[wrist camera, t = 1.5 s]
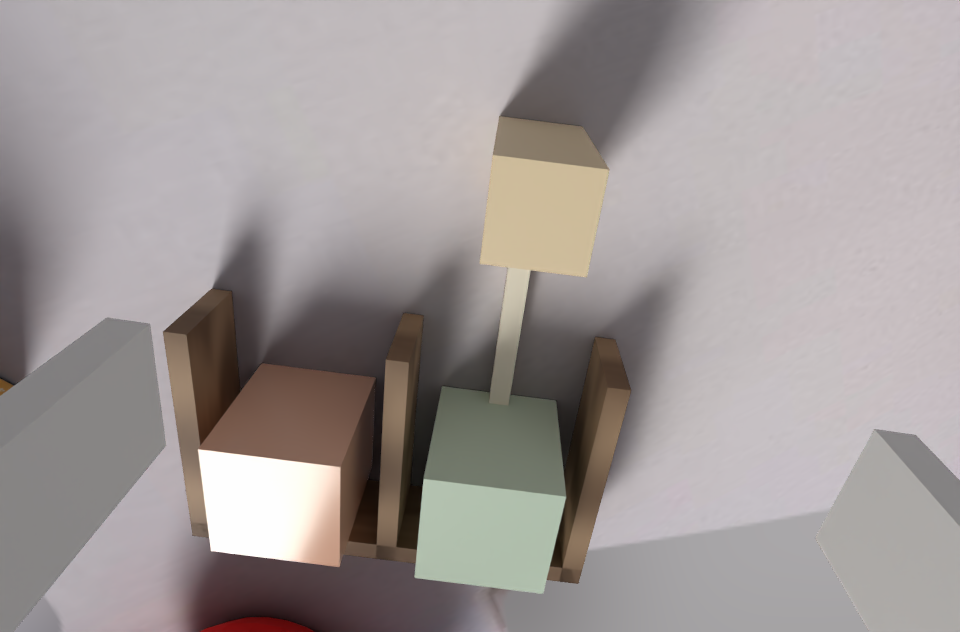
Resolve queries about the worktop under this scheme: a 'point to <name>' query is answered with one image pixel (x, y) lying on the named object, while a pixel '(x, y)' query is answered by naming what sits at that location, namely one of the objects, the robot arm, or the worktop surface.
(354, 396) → the terracotta block
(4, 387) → the small box
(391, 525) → the lane rack
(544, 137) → the tethered block
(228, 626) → the vase
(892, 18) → the worktop surface
